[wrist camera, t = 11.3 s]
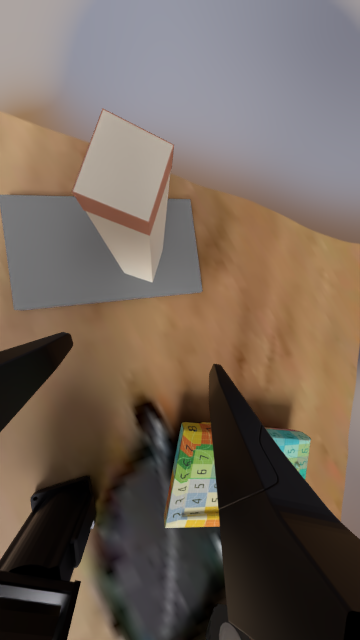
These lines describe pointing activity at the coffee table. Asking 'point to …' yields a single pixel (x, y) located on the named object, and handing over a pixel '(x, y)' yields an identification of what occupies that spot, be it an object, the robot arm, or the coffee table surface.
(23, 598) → the robot arm
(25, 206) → the mat
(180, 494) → the puzzle game
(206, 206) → the coffee table surface
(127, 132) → the card box
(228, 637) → the toy tractor
